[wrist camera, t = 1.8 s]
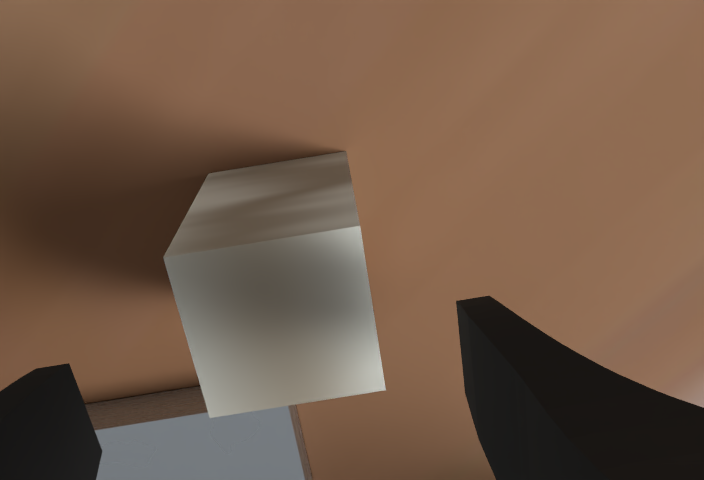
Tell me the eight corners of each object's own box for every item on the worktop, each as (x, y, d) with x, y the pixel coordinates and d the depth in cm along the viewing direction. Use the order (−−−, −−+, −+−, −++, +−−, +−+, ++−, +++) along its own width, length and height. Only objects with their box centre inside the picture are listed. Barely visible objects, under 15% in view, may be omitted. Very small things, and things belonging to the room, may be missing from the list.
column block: (346, 151, 18) (359, 226, 13) (365, 275, 20) (385, 390, 14) (208, 173, 18) (163, 257, 13) (238, 295, 20) (209, 418, 14)
